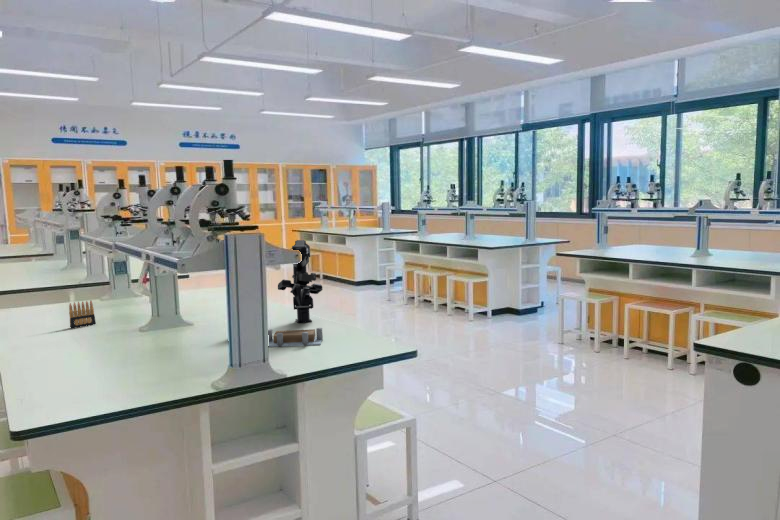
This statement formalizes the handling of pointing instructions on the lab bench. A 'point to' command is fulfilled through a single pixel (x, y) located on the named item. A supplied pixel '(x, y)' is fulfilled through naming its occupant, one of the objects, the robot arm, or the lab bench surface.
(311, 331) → the shelf board
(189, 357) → the lab bench surface
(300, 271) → the robot arm
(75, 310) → the ammunition clip
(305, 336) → the peg plate
